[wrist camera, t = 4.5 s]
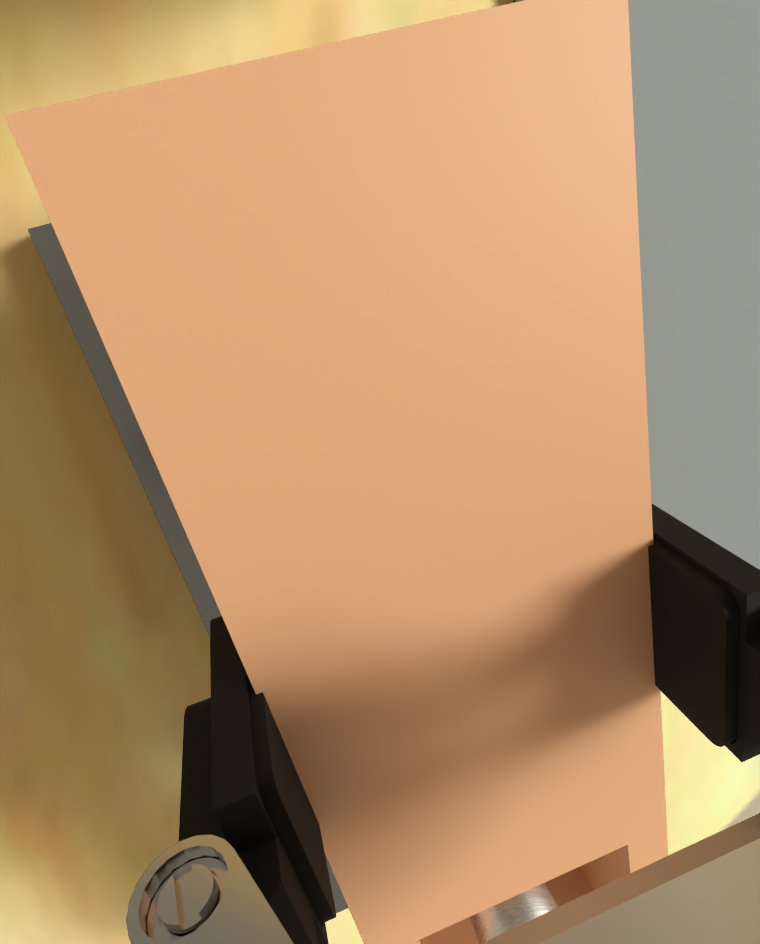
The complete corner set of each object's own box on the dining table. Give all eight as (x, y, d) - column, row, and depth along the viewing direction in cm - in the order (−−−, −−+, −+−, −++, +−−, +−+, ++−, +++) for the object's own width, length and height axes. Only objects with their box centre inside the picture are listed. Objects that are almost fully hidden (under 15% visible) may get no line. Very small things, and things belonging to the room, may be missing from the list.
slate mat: (505, -73, 13) (514, -83, 13) (880, -148, 15) (897, -158, 14) (595, 680, 22) (602, 687, 22) (823, 586, 24) (832, 592, 23)
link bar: (71, 153, 8) (5, 115, 5) (501, 51, 9) (626, -22, 6) (394, 956, 17) (431, 1097, 14) (601, 861, 17) (673, 976, 15)
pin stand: (40, 230, 13) (-245, 209, 5) (470, 122, 14) (814, -34, 6) (328, 886, 22) (399, 1260, 14) (572, 780, 24) (762, 1062, 16)
